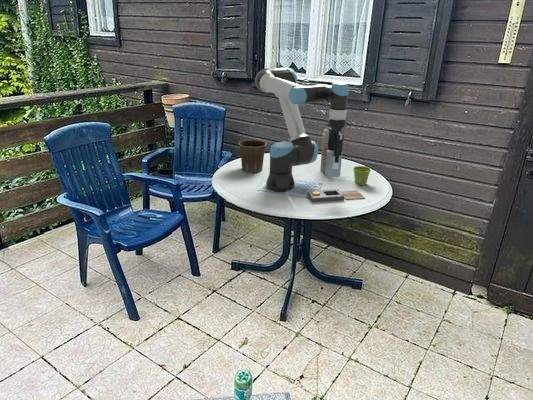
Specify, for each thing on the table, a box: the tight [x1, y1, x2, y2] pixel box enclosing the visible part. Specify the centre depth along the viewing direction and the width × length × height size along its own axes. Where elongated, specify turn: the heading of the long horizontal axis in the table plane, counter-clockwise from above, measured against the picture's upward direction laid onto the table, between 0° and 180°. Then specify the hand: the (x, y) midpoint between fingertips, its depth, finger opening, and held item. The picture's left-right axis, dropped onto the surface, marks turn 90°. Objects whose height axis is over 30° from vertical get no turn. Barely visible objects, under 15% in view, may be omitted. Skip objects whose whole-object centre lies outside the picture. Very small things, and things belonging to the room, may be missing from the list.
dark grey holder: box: [306, 188, 345, 203], centre depth 194 cm, size 9×16×4 cm, turn 101°
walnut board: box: [339, 190, 366, 201], centre depth 197 cm, size 10×10×1 cm
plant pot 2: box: [352, 165, 372, 186], centre depth 213 cm, size 9×9×9 cm
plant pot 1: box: [238, 139, 268, 174], centre depth 231 cm, size 16×16×16 cm
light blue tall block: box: [324, 150, 343, 178], centre depth 188 cm, size 4×6×12 cm
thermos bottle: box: [319, 123, 331, 174], centre depth 228 cm, size 8×8×28 cm
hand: (333, 166), depth 189 cm, fingers closed on light blue tall block, 4 cm apart
